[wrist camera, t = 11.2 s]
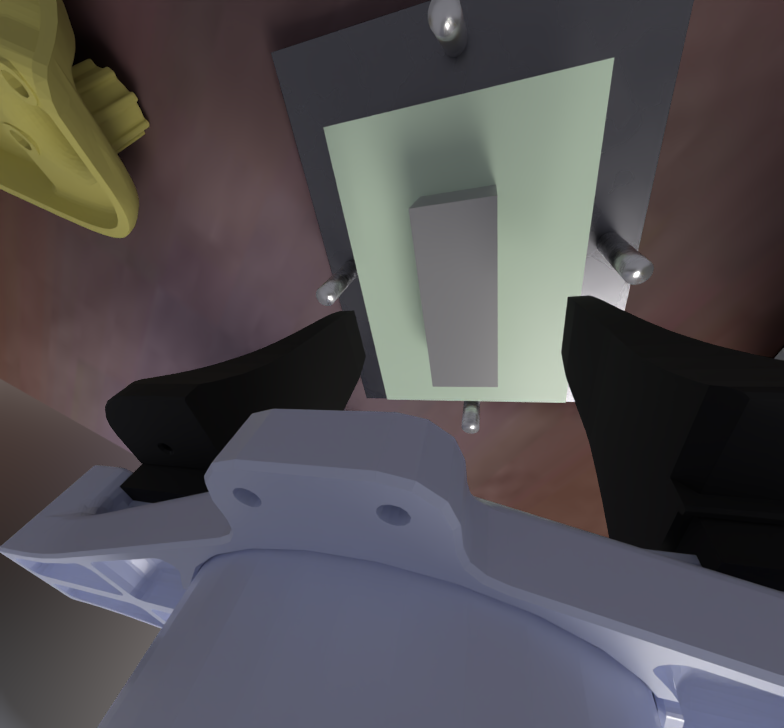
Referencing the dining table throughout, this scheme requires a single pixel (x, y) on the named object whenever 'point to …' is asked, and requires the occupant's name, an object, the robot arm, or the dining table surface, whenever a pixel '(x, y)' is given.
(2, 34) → the plastic component
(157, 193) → the dining table surface
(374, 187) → the board
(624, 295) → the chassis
